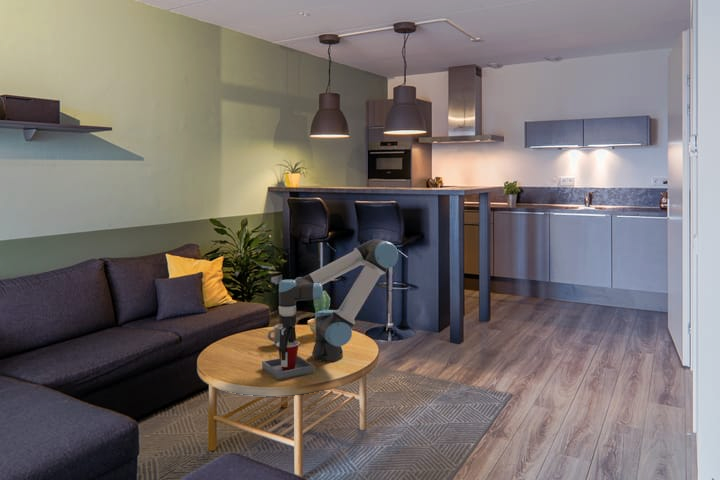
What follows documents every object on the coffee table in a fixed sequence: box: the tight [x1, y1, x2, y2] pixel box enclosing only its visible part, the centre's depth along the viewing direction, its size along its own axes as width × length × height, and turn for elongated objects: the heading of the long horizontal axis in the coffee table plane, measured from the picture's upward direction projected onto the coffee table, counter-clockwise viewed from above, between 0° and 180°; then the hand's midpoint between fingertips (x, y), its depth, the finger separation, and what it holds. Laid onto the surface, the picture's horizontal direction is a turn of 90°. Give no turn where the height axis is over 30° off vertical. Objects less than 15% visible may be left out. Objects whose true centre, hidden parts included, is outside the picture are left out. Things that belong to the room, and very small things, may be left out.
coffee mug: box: [267, 323, 287, 347], centre depth 289 cm, size 13×10×10 cm
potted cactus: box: [306, 290, 331, 338], centre depth 306 cm, size 15×15×25 cm
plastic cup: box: [275, 340, 301, 370], centre depth 250 cm, size 11×11×12 cm
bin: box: [261, 354, 315, 381], centre depth 250 cm, size 18×18×4 cm
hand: (288, 362), depth 250 cm, fingers closed on plastic cup, 9 cm apart
